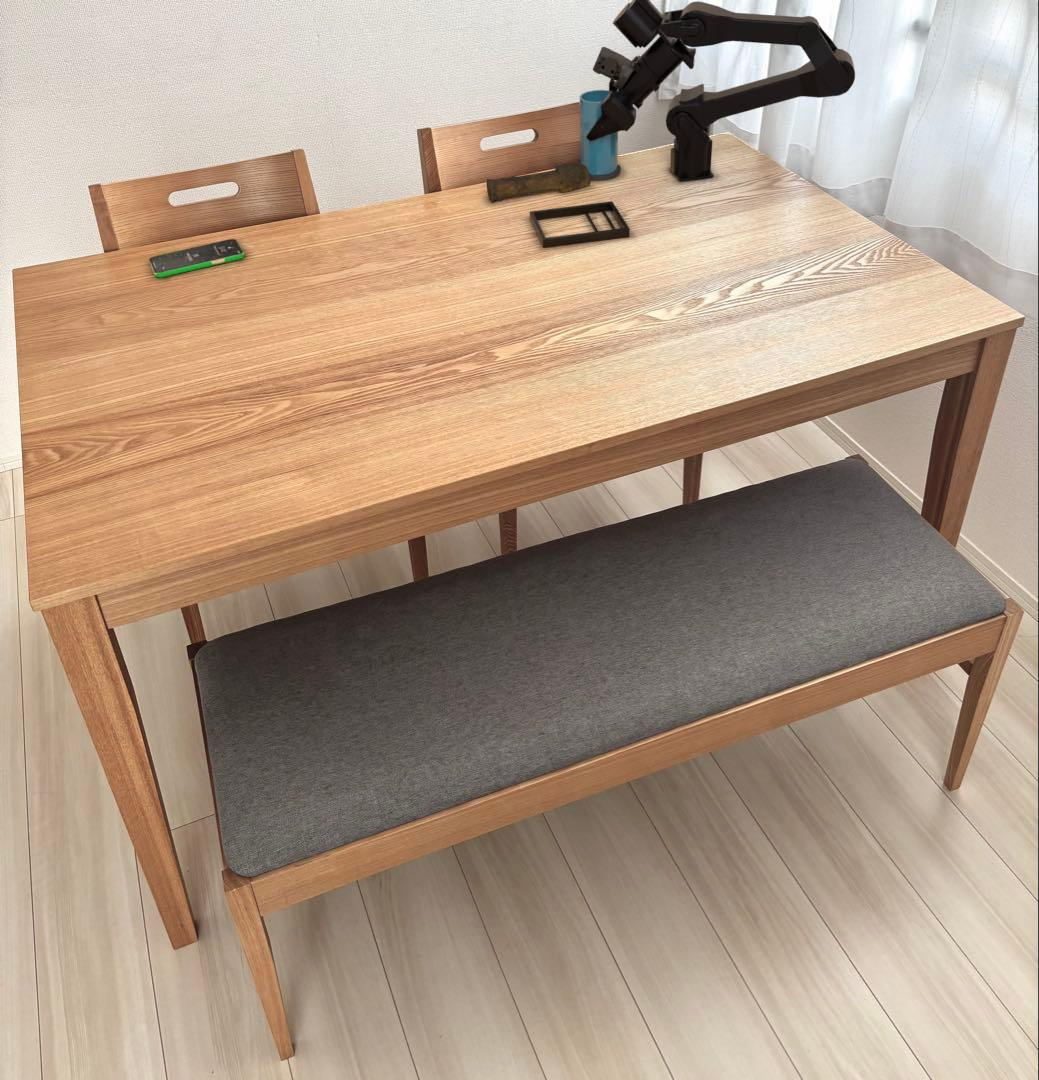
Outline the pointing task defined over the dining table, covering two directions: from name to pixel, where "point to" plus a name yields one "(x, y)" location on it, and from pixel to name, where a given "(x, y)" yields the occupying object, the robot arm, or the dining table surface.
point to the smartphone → (196, 258)
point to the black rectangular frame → (581, 237)
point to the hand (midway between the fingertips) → (591, 130)
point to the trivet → (607, 176)
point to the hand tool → (540, 182)
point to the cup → (603, 150)
